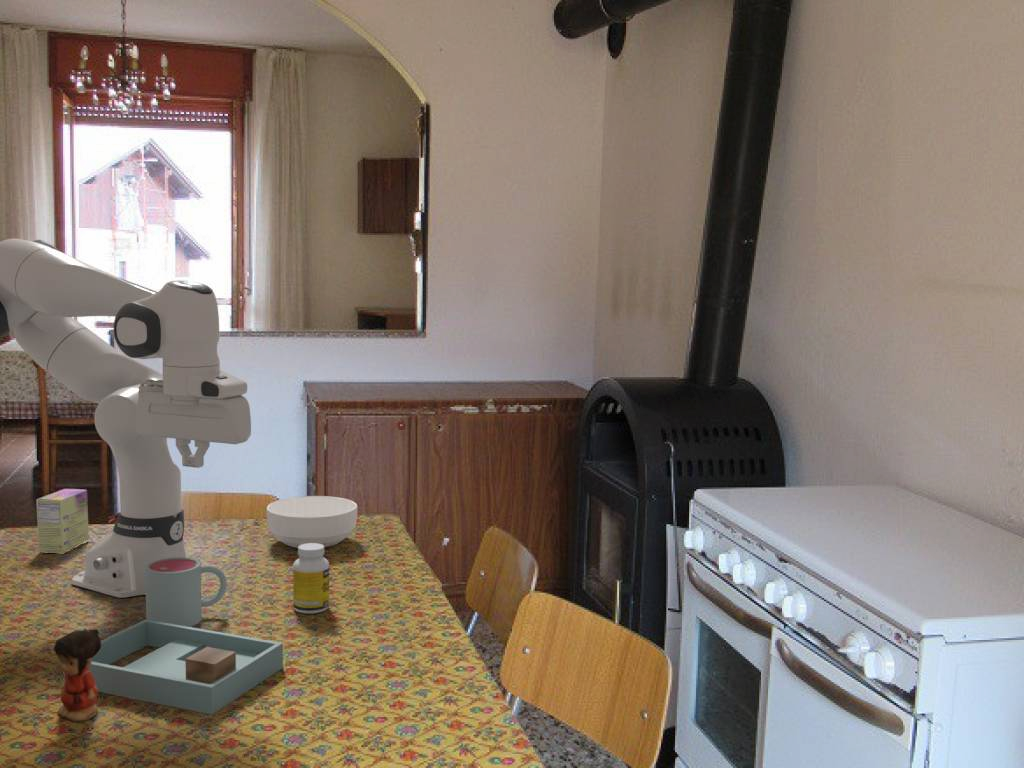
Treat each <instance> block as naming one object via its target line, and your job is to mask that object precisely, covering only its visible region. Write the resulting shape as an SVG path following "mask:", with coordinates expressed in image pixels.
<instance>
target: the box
mask: <svg viewBox="0 0 1024 768" xmlns="http://www.w3.org/2000/svg"><path fill="white" fill-rule="evenodd" d="M35 501H36V518H37V519H36V522H37V538H38V540H37V542H38V553H39V552H49V553H65V552H66V551H67V550H70V549H71V548H73V547H75V546H77V545H79V544H80V543H83V542H84V541H86V540H88V539H89V540H90V535H89V510H88V490H87V489H80V488H78V489H77V488H63V489H62V488H61V489H59V490H58V491H55V492H53V493H50V494H47V495H44V496H42V497H39V498H36V499H35ZM70 551H71V550H70ZM65 554H66V553H65Z"/></svg>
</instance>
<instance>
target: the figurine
mask: <svg viewBox="0 0 1024 768" xmlns="http://www.w3.org/2000/svg"><path fill="white" fill-rule="evenodd" d="M100 648H101V637H100V632H99V630H98V629H97V628H93V629H92V628H90V629H86V628H85V629H83V630H79V629H78V630H74V631H71V632H70V633H67V634H65V635H63V636H62V637H61V638H59V639H57V640H56V641H55V644H54V646H53V651H54V652H55V654H56V656H57V657H58V659H59V666H60V668H61V671H62V672H63V674H64V673H65V677H64V676H63V679H64V678H65V684H63V686H62V691H61V693H60V701H61V703H62V705H60V707H59V708H58V711H57V714H58V715H59V716H61V717H63V718H65V720H66V719H67V720H70V721H72V722H75V723H81V722H86V721H88V720H91V719H92V718H94V717H95V716H96V715H97V714H98V712H99V711H98V707H97V705H96V701H97V699H98V695H99V693H98V689H97V686H96V685H95V679H94V678H93V676H92V674H91V673H90V670H89V668H88V666H89V665H90V664H91V662H92V659H91V658H92V657H94V656H95V655H96V654H97V653H98V651H99V650H100Z"/></svg>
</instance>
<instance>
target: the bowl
mask: <svg viewBox="0 0 1024 768" xmlns="http://www.w3.org/2000/svg"><path fill="white" fill-rule="evenodd" d="M357 520H358V505H357V503H356V502H354V501H353V500H351V499H348V498H343V497H339V496H328V495H327V496H326V495H307V496H306V495H305V496H294V497H288V498H283V499H278V500H275V501H273V502H271V503H269V504H268V505H267V507H266V521H267V530H268V531H269V532H270V533H272V535H273V537H274V538H275V539H276V540H278V541H280V542H281V543H283V544H284V545H286V546H288V547H293V548H297V549H298V546H299V545H302V544H307V543H318V544H322V545H324V548H327V547H333V546H335V545H337V544H339V543H340V542H342V541H343V540H345V539H346V538H348V537H349V536H350V535H351V533H352V531H354V530H355V529H356V528H357V523H358V522H357Z"/></svg>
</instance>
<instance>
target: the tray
mask: <svg viewBox="0 0 1024 768" xmlns="http://www.w3.org/2000/svg"><path fill="white" fill-rule="evenodd" d="M147 646H149V647H155V648H157V649H155V650H154V651H151V652H150V653H147V654H146V655H144V656H141V657H140V658H138V659H137V660H134V661H132V662H131V663H129V664H126V665H124V666H123V667H122V666H119V665H118V666H117V665H111V664H113V663H115V662H117V661H119V660H121V659H122V658H125V657H127V656H129V655H130V654H133V653H135V652H137V651H139V650H140V649H143V648H145V647H147ZM206 647H211V648H217V649H222V650H228V651H233V652H236V669H234V670H233V671H231V672H229V673H228V674H226V675H225V676H223V677H221V678H220V679H218V680H216V681H215V682H213V683H212V684H206V683H201V682H196V681H190V680H186V663H185V659H186V658H188V657H190V656H191V655H193V654H195V653H197V652H199V651H200V650H202V649H204V648H206ZM91 659H92V662H91V664H90V665H89V666H88V668H89V670H90V673H91V674H92V676H93V678H94V679H95V685H96V686H97V689H98V692H99V693H103V694H104V693H105V694H109V695H113V696H119V697H123V698H128V699H133V700H136V701H137V700H139V701H141V702H142V701H143V702H146V703H147V702H148V703H152V704H157V705H161V706H162V705H163V706H167V707H172V708H177V709H181V710H185V711H191V712H196V713H201V714H205V715H206V714H207V715H211V716H213V715H214V714H215V713H217V712H218V711H220V710H221V709H223V708H225V707H227V705H229V704H230V703H232V702H233V701H235V700H237V699H239V698H240V697H241V696H242V695H245V693H247V692H249V691H250V690H252V689H253V688H254V687H256V686H258V685H259V684H261V683H262V682H264V681H265V680H267V679H268V678H269V677H271V676H273V675H274V674H276V673H278V672H279V671H280V670H282V669H283V668H284V643H283V642H280V641H273V640H267V639H261V638H255V637H251V636H246V635H245V636H244V635H238V634H232V633H228V632H226V633H225V632H221V631H217V630H216V631H215V630H211V629H210V630H209V629H204V628H197V627H193V626H191V627H187V626H181V625H175V624H170V623H164V622H158V621H152V620H146V619H144V620H141V621H139V622H138V623H136V624H134V625H131V626H129V627H126V628H125V629H122V630H120V631H118V632H115V633H114V634H111V635H110V636H108V637H106V638H104V639H102V640H101V648H100V650H99V651H98V653H97V654H96V655H95V656H94V657H92V658H91ZM64 677H65V673H63V683H64V684H65V678H64ZM64 684H63V685H64Z"/></svg>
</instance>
